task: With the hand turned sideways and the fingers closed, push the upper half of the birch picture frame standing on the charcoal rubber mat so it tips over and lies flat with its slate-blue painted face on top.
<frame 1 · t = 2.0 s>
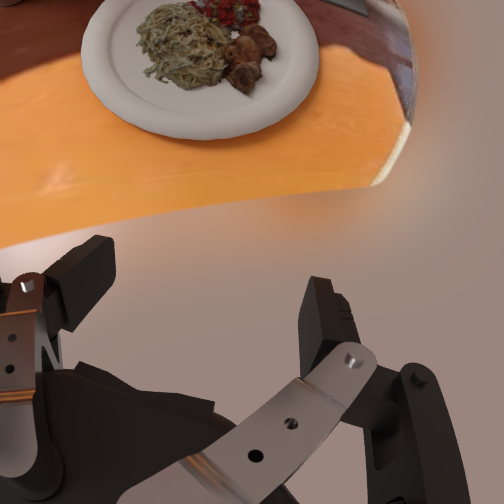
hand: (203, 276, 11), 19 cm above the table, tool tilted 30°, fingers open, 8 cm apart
plated food: (203, 38, 28), on the table
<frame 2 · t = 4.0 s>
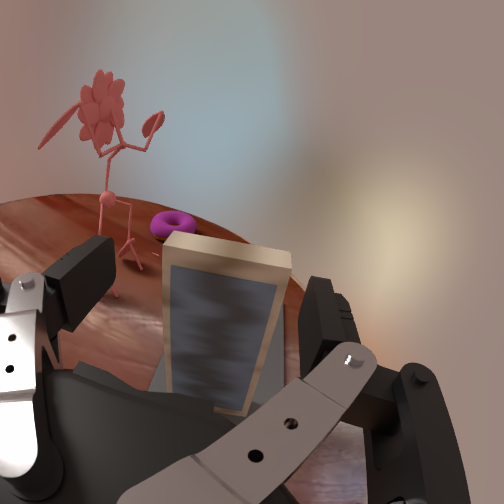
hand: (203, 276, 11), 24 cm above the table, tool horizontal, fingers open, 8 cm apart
birch picture frame: (208, 401, 30), point 1 cm above the table, touching rubber mat
rubber mat: (225, 354, 38), on the table
figurine: (100, 273, 48), on the table
donut: (173, 235, 67), on the table
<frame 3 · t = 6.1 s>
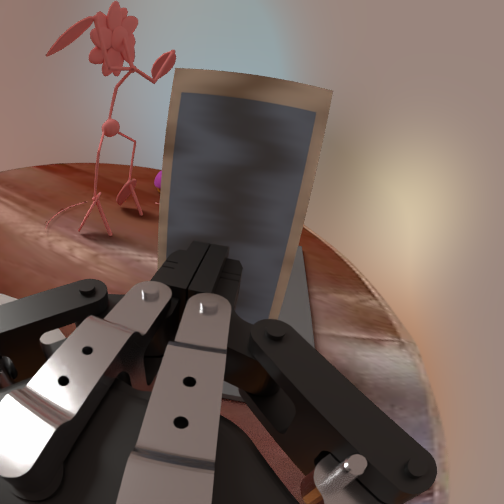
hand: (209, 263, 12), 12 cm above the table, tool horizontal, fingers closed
birch picture frame: (214, 339, 24), point 1 cm above the table, touching rubber mat
rubber mat: (236, 291, 32), on the table
figurine: (95, 218, 43), on the table
donut: (178, 192, 61), on the table
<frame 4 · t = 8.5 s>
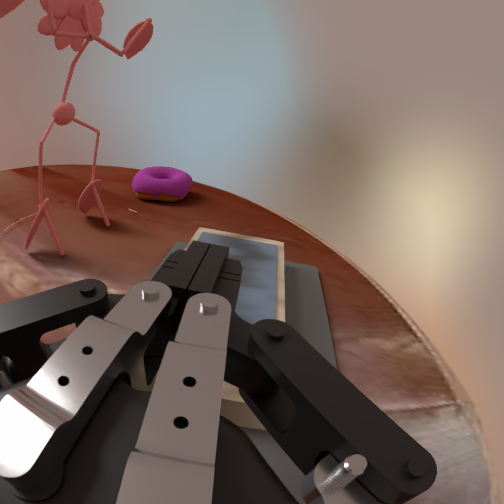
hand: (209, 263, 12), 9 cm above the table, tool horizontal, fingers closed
birch picture frame: (191, 405, 13), point 2 cm above the table, tilted 90°, touching rubber mat
rubber mat: (224, 345, 20), on the table
figurine: (53, 230, 31), on the table
donut: (161, 196, 50), on the table
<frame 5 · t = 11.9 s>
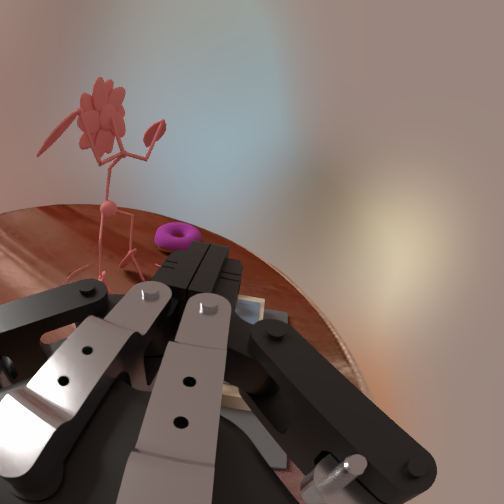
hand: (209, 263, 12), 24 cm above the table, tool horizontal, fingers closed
birch picture frame: (212, 398, 29), point 2 cm above the table, tilted 90°, touching rubber mat
rubber mat: (227, 367, 36), on the table
figurine: (102, 284, 48), on the table
donut: (177, 247, 66), on the table
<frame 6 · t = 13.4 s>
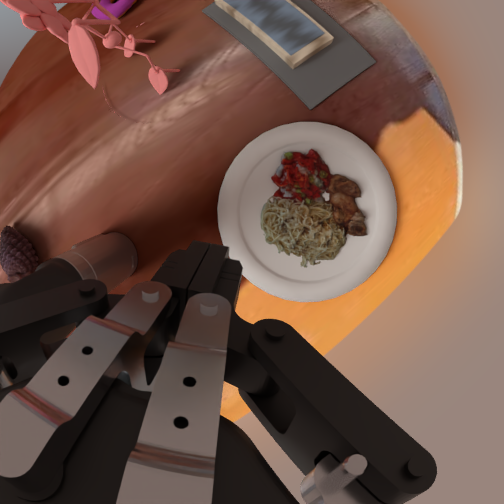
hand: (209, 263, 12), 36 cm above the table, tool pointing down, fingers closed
birch picture frame: (313, 53, 38), point 2 cm above the table, tilted 90°, touching rubber mat
pine cone: (29, 250, 53), on the table
plated food: (309, 213, 47), on the table
rubber mat: (288, 29, 39), on the table
figurine: (137, 78, 43), on the table
donut: (119, 4, 38), on the table
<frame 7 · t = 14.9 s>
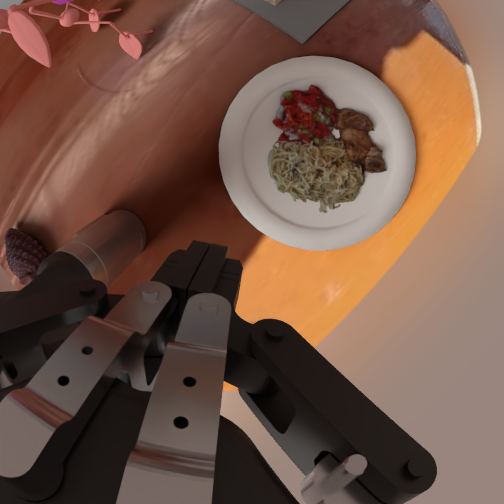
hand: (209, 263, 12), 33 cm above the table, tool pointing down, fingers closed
pine cone: (36, 247, 53), on the table
plated food: (321, 153, 41), on the table
figurine: (110, 49, 35), on the table
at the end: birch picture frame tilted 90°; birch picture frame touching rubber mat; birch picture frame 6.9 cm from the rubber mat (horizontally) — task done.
